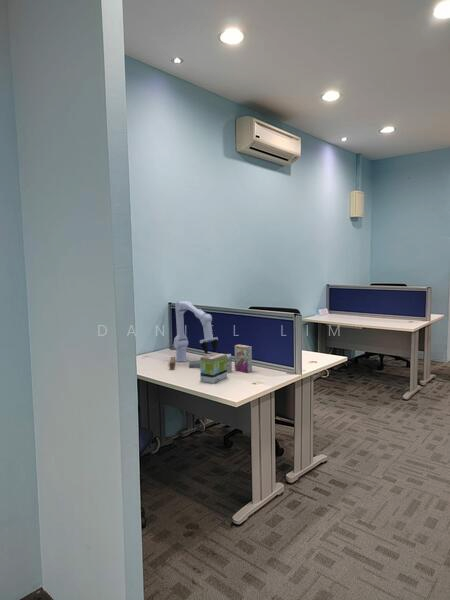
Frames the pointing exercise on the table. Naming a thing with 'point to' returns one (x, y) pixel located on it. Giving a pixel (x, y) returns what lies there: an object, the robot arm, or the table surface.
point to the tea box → (213, 367)
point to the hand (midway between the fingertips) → (210, 352)
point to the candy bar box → (243, 358)
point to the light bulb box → (229, 363)
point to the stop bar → (172, 363)
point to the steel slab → (194, 364)
